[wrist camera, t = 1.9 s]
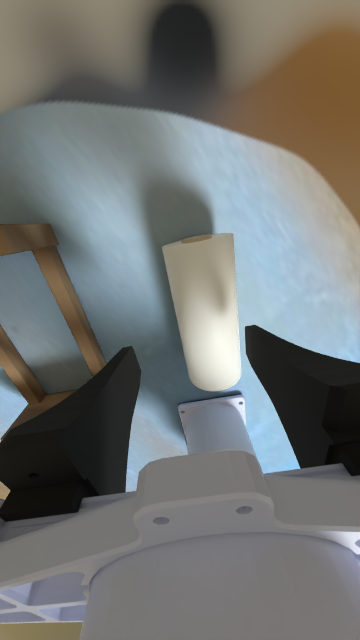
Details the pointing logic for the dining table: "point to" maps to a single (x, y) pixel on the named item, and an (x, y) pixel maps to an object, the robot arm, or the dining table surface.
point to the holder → (43, 247)
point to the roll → (206, 307)
